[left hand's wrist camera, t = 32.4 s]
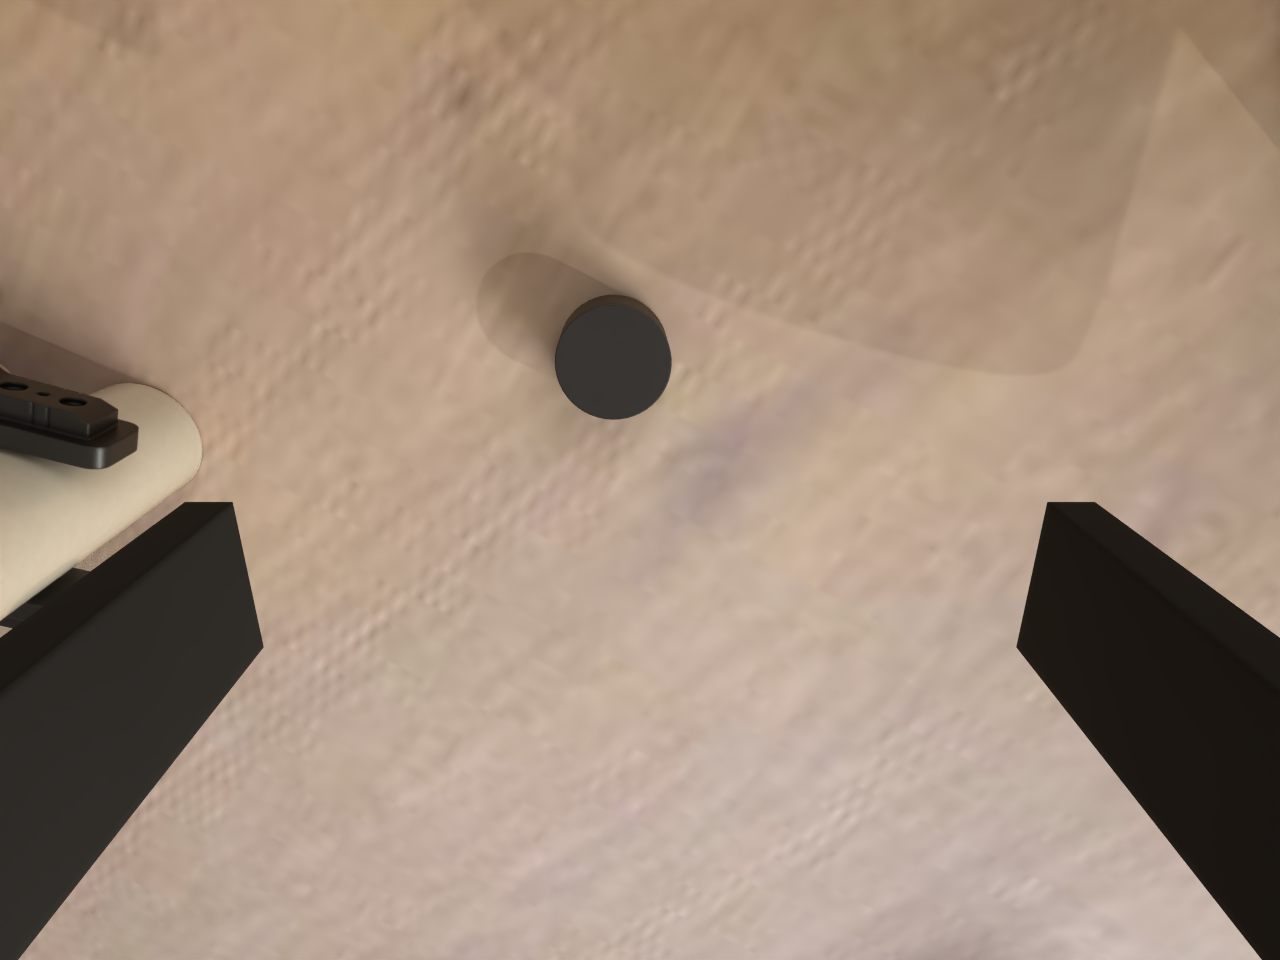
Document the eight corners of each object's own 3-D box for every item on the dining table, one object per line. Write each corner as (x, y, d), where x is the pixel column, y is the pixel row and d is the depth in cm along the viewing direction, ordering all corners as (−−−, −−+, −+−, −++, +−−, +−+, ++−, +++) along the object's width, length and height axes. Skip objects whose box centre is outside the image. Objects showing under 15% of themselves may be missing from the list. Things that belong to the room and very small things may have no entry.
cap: (605, 271, 27) (604, 280, 25) (689, 342, 28) (695, 356, 26) (537, 356, 28) (531, 371, 26) (620, 421, 29) (621, 441, 27)
